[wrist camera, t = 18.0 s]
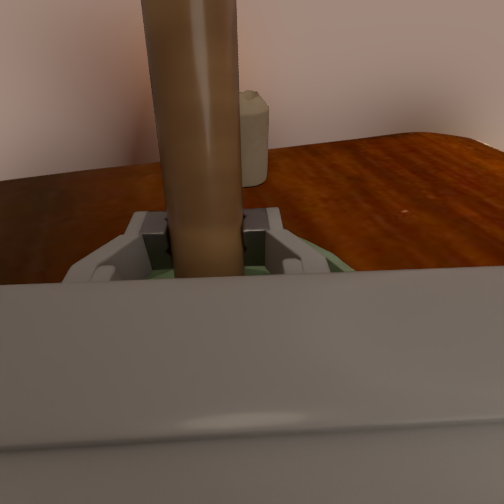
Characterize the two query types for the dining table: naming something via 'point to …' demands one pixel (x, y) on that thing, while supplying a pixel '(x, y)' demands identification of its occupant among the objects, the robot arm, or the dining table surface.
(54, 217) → the dining table surface
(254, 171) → the candle
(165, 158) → the wooden dowel stand
